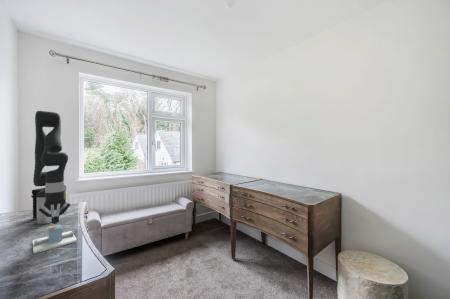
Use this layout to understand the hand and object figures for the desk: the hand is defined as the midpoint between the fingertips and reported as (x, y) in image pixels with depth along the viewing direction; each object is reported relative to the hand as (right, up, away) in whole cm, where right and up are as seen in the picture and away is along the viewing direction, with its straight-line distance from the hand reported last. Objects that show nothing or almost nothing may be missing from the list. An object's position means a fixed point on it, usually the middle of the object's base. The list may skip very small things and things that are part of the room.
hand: (55, 223), depth 100 cm
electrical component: (-40, -10, +41) cm, 58 cm away
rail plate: (0, -9, -1) cm, 9 cm away
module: (0, -8, -1) cm, 8 cm away
